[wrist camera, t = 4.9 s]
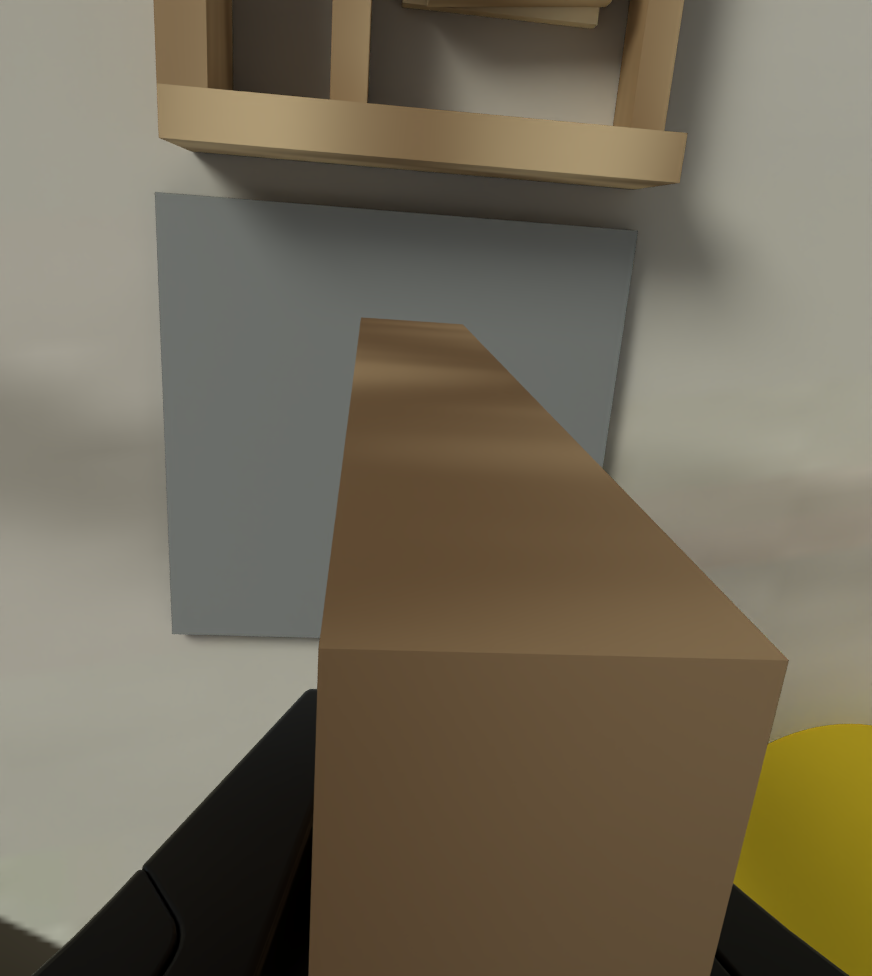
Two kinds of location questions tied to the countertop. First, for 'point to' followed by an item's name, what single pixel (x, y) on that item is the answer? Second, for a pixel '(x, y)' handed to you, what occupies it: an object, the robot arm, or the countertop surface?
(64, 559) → the countertop surface
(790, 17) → the countertop surface
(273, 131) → the rack
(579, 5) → the offcut upper
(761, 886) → the yellow paper roll
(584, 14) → the offcut lower
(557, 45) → the countertop surface
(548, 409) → the mat
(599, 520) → the wooden block
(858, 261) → the countertop surface
